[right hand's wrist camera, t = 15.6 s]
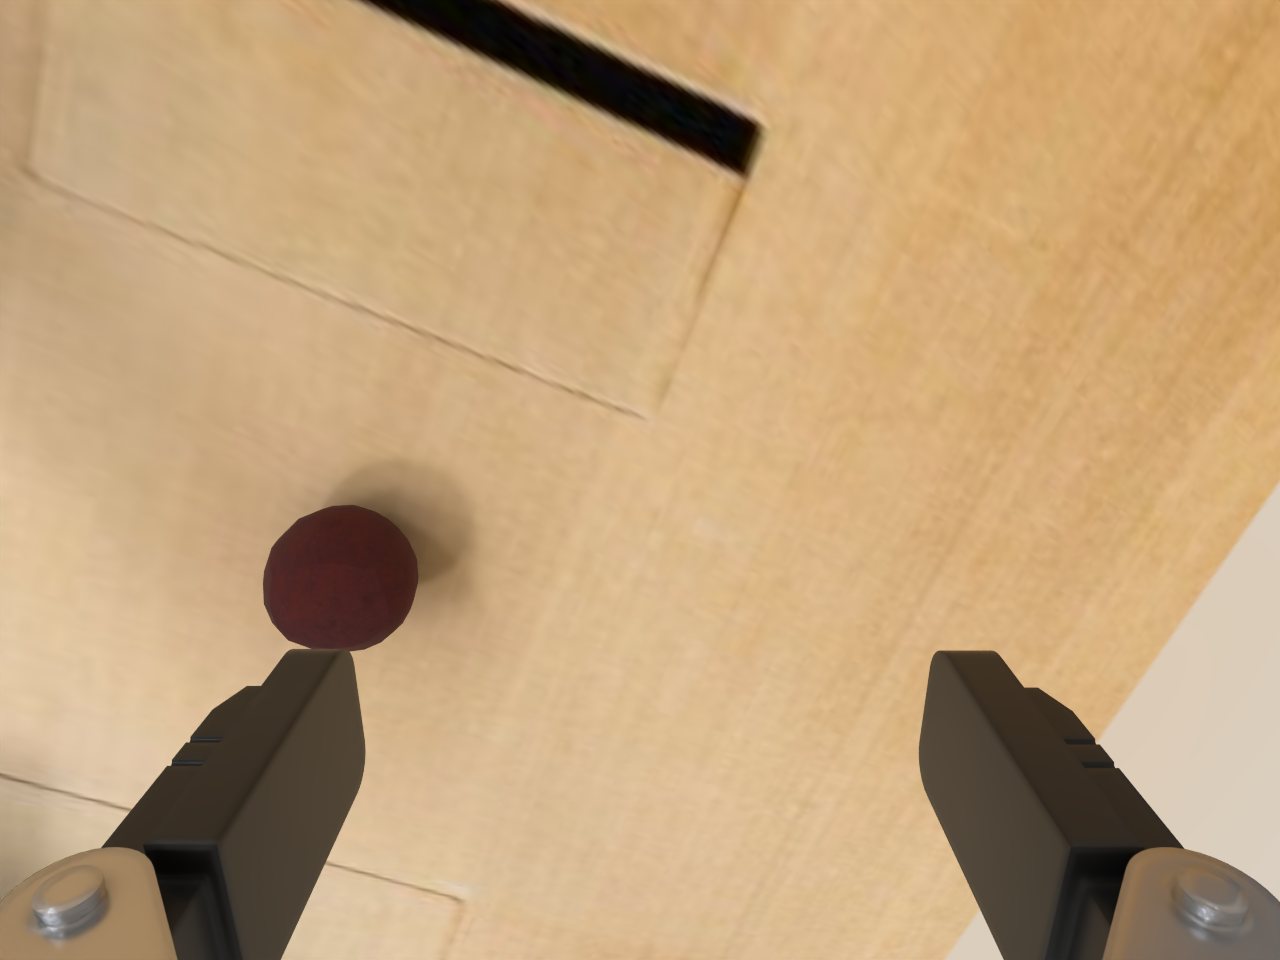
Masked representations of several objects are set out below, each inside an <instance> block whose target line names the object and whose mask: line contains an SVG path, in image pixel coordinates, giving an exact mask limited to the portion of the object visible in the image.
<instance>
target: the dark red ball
mask: <svg viewBox="0 0 1280 960" xmlns="http://www.w3.org/2000/svg"><path fill="white" fill-rule="evenodd" d="M417 583H418V568H417V559H416V556H415V554H414V552H413V549H412V547H411V545H410V543H409V541H408V540H407V538H406V537H405V536H404V535H403V533H402V532H401V531H400V530H399V529H398V528H397V527H396V526H395V525H394V524H393V523H392V522H391V521H389V520H388V519H386V518H385V517H383V516H381V515H380V514H378V513H376V512H374V511H371V510H368V509H365V508H361V507H358V506H355V505H344V506H331V507H328V508H324V509H322V510H319V511H317V512H314V513H312V514H310V515H307V516H305V517H302V518H300V519H298V520H297V521H296V522H295V523H294V524H293V525H292V526H291V527H290V528H289V529H288V530H287V531H286V532H285V533H284V534H283V535H282V536H281V537H280V538H279V539H278V540H277V542H276V543H275V544H274V546H273V547H272V548H271V551H270V555H269V558H268V561H267V564H266V567H265V570H264V579H263V592H264V605H265V607H266V609H267V612H268V614H269V616H270V619H271V621H272V623H273V624H274V625H275V626H276V628H277V629H278V630H279V631H280V632H281V633H282V634H283V635H284V636H285V637H286V638H287V639H288V640H289V641H292V642H294V643H297V644H300V645H303V646H306V647H308V648H311V649H346V650H348V651H356V650H363V649H367V648H369V647H371V646H373V645H376V644H378V643H380V642H382V641H383V640H384V639H385V638H387V637H388V636H389V635H390V634H391V633H393V632H394V631H395V630H396V629H397V628H398V627H399V626H400V625H401V624H402V623H403V622H404V620H405V618H406V616H407V614H408V613H409V611H410V609H411V606H412V603H413V600H414V596H415V592H416V587H417Z"/></svg>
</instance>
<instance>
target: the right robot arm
mask: <svg viewBox="0 0 1280 960" xmlns="http://www.w3.org/2000/svg"><path fill="white" fill-rule="evenodd" d="M364 765H365V739H364V732H363V725H362V718H361V710H360V703H359V696H358V689H357V682H356V675H355V667H354V662H353V658H352V656H351V654H350V652H349V651H348V650H346V649H292V650H289V651H288V652H287V653H286V654H285V655H284V656H283V657H282V659H281V660H280V661H279V663H278V664H277V665H276V667H275V668H274V670H273V671H272V672H271V674H270V675H269V676H268V678H267V679H266V680H265V682H264V683H263V684H262V686H246V687H245V688H244V689H242V690H241V691H239V692H238V693H236V694H235V695H233V696H232V697H230V698H229V699H227V700H226V701H224V702H223V703H222V704H220V705H219V706H217V707H216V708H214V709H213V710H212V711H211V712H210V714H209V715H208V716H207V717H206V718H205V720H204V721H203V722H202V723H201V725H200V726H199V727H198V728H197V730H196V731H195V732H194V733H193V735H192V736H191V740H190V743H185V745H184V746H183V747H182V748H181V749H180V751H179V752H178V753H177V754H176V756H175V757H174V758H173V759H172V765H171V766H167V767H166V768H165V769H164V771H163V772H162V773H161V774H160V776H159V777H158V778H157V779H156V780H155V782H154V783H153V784H152V785H151V787H150V788H149V789H148V790H147V792H146V793H145V794H144V795H143V797H142V798H141V799H140V800H139V802H138V803H137V804H136V805H135V807H134V808H133V809H132V810H131V811H130V813H129V814H128V815H127V816H126V818H125V819H124V820H123V821H122V823H121V824H120V825H119V826H118V828H117V829H116V830H115V831H114V833H113V834H112V835H111V836H110V838H109V839H108V840H107V841H106V843H105V844H104V845H103V846H102V847H101V848H100V849H93V850H89V851H85V852H81V853H78V854H75V855H72V856H69V857H67V858H64V859H62V860H60V861H57V862H55V863H53V864H51V865H49V866H47V867H45V868H44V869H42V870H40V871H38V872H37V873H35V874H33V875H32V876H30V877H29V878H27V879H26V880H24V881H23V882H22V883H21V884H19V885H18V886H17V887H15V888H14V889H13V890H12V891H11V892H10V893H9V894H8V895H7V896H6V897H5V898H4V899H3V900H2V901H1V902H0V960H281V958H282V956H283V953H284V951H285V949H286V947H287V945H288V943H289V940H290V938H291V936H292V934H293V932H294V930H295V927H296V925H297V923H298V921H299V919H300V916H301V914H302V912H303V910H304V908H305V906H306V903H307V901H308V899H309V897H310V895H311V893H312V890H313V888H314V886H315V884H316V882H317V880H318V877H319V875H320V873H321V871H322V869H323V867H324V864H325V862H326V860H327V858H328V856H329V854H330V851H331V849H332V847H333V845H334V843H335V841H336V838H337V836H338V834H339V832H340V830H341V827H342V825H343V823H344V821H345V819H346V817H347V814H348V812H349V810H350V808H351V806H352V804H353V801H354V799H355V797H356V795H357V793H358V790H359V788H360V784H361V781H362V777H363V772H364ZM919 765H920V772H921V777H922V782H923V785H924V789H925V791H926V794H927V796H928V798H929V800H930V802H931V805H932V807H933V809H934V811H935V813H936V815H937V817H938V820H939V822H940V824H941V826H942V828H943V830H944V832H945V835H946V837H947V839H948V841H949V843H950V845H951V847H952V850H953V852H954V854H955V856H956V858H957V860H958V863H959V865H960V867H961V869H962V871H963V873H964V875H965V878H966V880H967V882H968V884H969V886H970V888H971V890H972V893H973V895H974V897H975V899H976V901H977V903H978V905H979V908H980V910H981V912H982V914H983V916H984V918H985V920H986V923H987V925H988V927H989V929H990V931H991V933H992V935H993V938H994V940H995V942H996V944H997V946H998V948H999V950H1000V952H1001V955H1002V957H1003V959H1004V960H1280V902H1279V901H1278V900H1277V899H1276V898H1275V897H1274V896H1273V895H1272V894H1271V893H1270V892H1269V891H1268V890H1267V889H1266V888H1264V887H1263V886H1262V885H1261V884H1259V883H1258V882H1257V881H1256V880H1254V879H1253V878H1251V877H1250V876H1248V875H1247V874H1245V873H1243V872H1242V871H1240V870H1238V869H1236V868H1235V867H1233V866H1231V865H1229V864H1227V863H1225V862H1223V861H1220V860H1218V859H1216V858H1213V857H1211V856H1208V855H1205V854H1202V853H1198V852H1195V851H1191V850H1187V849H1184V848H1183V846H1182V845H1181V844H1180V843H1179V841H1178V840H1177V839H1176V838H1175V837H1174V835H1173V834H1172V833H1171V832H1170V830H1169V829H1168V828H1167V827H1166V826H1165V824H1164V823H1163V822H1162V821H1161V819H1160V818H1159V817H1158V816H1157V814H1156V813H1155V812H1154V811H1153V810H1152V808H1151V807H1150V806H1149V805H1148V803H1147V802H1146V801H1145V800H1144V798H1143V797H1142V796H1141V795H1140V794H1139V792H1138V791H1137V790H1136V789H1135V787H1134V786H1133V785H1132V784H1131V783H1130V781H1129V780H1128V779H1127V778H1126V776H1125V775H1124V774H1123V773H1122V771H1121V770H1120V769H1119V768H1115V767H1114V762H1113V760H1112V759H1111V758H1110V757H1109V755H1108V754H1107V753H1106V752H1105V750H1104V749H1103V748H1102V747H1101V746H1100V745H1096V743H1095V738H1094V737H1093V736H1092V735H1091V733H1090V732H1089V731H1088V730H1087V728H1086V727H1085V726H1084V725H1083V723H1082V722H1081V721H1080V720H1079V719H1078V717H1077V716H1076V715H1075V714H1074V712H1073V711H1071V710H1070V709H1068V708H1067V707H1066V706H1064V705H1063V704H1061V703H1060V702H1058V701H1057V700H1055V699H1054V698H1052V697H1051V696H1049V695H1048V694H1046V693H1045V692H1043V691H1042V690H1041V689H1039V688H1024V687H1023V686H1022V684H1021V683H1020V682H1019V680H1018V679H1017V678H1016V676H1015V675H1014V674H1013V672H1012V671H1011V670H1010V668H1009V667H1008V666H1007V664H1006V663H1005V662H1004V660H1003V659H1002V658H1001V657H1000V655H999V654H998V653H996V652H995V651H937V652H936V653H935V654H934V656H933V658H932V661H931V665H930V672H929V679H928V686H927V693H926V700H925V707H924V714H923V721H922V728H921V735H920V742H919Z"/></svg>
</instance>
